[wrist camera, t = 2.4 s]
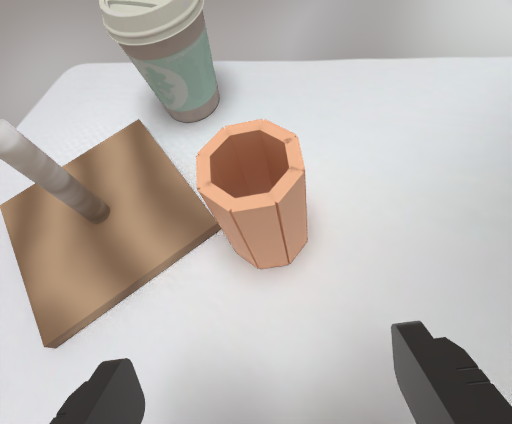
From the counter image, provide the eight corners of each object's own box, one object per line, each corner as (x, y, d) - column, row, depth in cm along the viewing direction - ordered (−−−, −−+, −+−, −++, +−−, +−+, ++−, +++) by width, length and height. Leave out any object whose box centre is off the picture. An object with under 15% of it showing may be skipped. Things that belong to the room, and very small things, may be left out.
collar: (299, 196, 28) (292, 113, 19) (311, 261, 25) (311, 198, 16) (232, 207, 28) (195, 131, 19) (237, 272, 25) (197, 218, 17)
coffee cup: (145, 102, 37) (78, -9, 26) (207, 65, 38) (167, -54, 27) (178, 146, 33) (114, 36, 22) (246, 104, 34) (216, -19, 23)
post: (144, 126, 35) (69, 15, 24) (221, 228, 27) (162, 134, 17) (9, 211, 32) (-141, 129, 21) (55, 348, 25) (-139, 327, 14)
